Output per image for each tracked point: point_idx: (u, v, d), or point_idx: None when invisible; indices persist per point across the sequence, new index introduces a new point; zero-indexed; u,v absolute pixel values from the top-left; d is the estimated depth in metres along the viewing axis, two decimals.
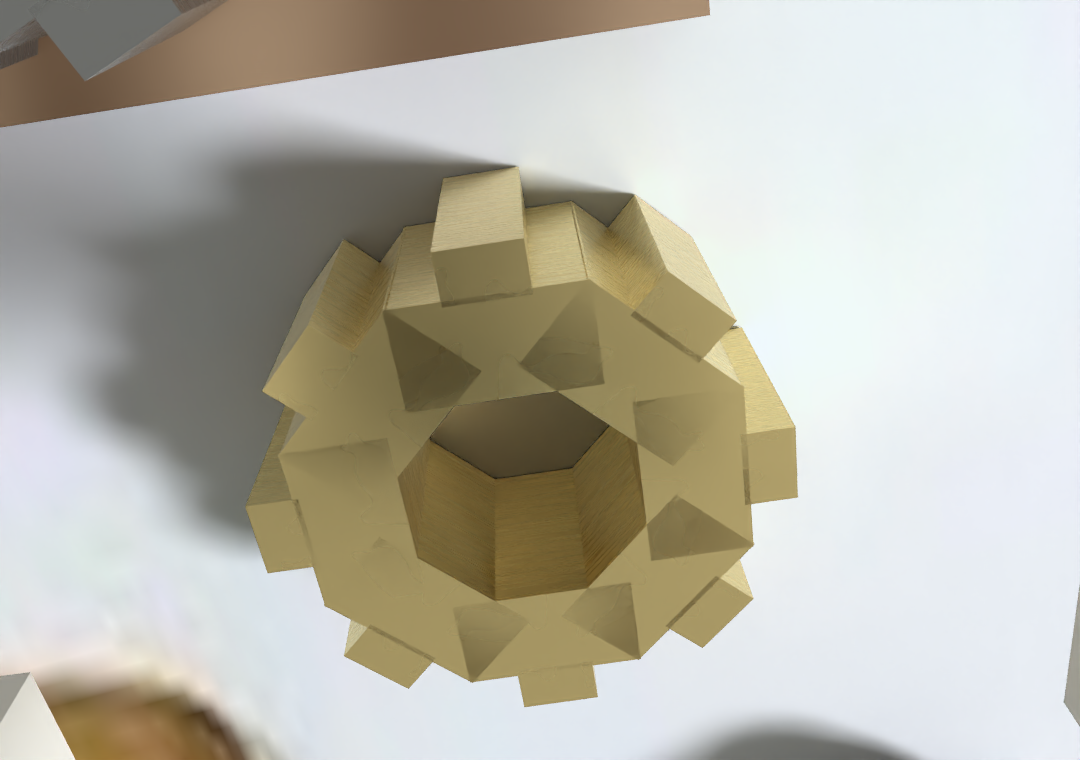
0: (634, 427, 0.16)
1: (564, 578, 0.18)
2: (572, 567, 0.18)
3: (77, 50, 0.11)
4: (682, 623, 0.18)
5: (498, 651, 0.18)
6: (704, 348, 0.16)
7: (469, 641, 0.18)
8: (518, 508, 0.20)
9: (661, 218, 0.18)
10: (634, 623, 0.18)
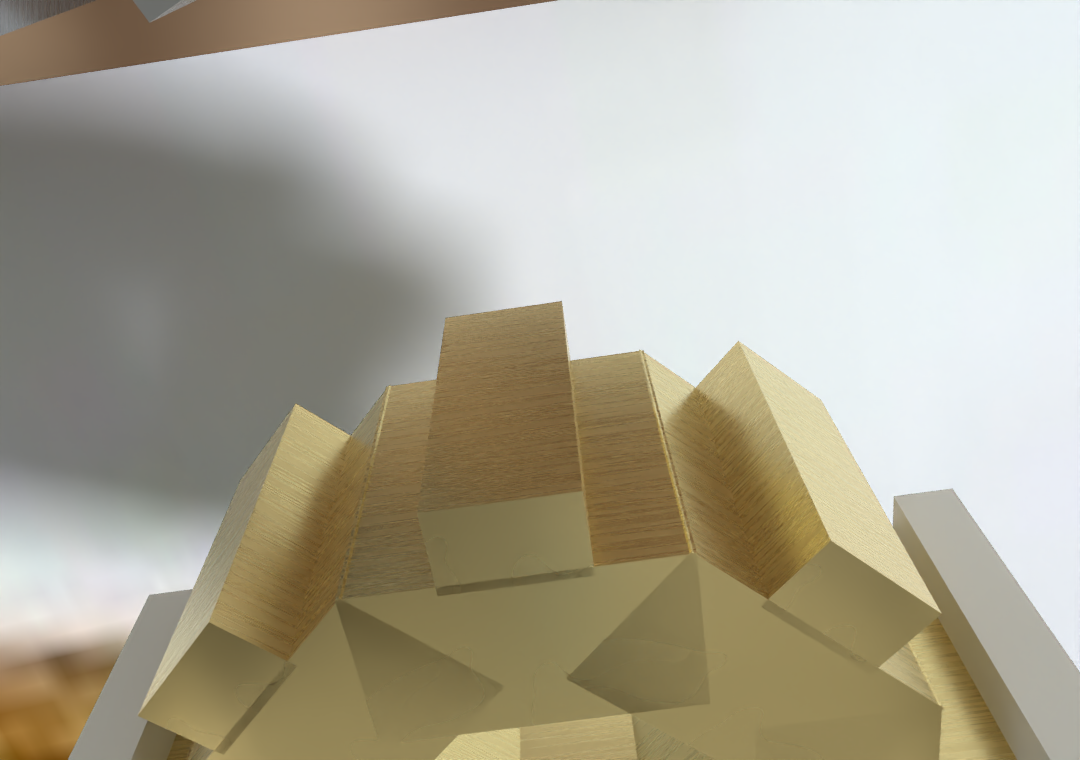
0: None
1: None
2: None
3: None
4: None
5: None
6: (882, 654, 0.09)
7: None
8: None
9: (780, 380, 0.12)
10: None
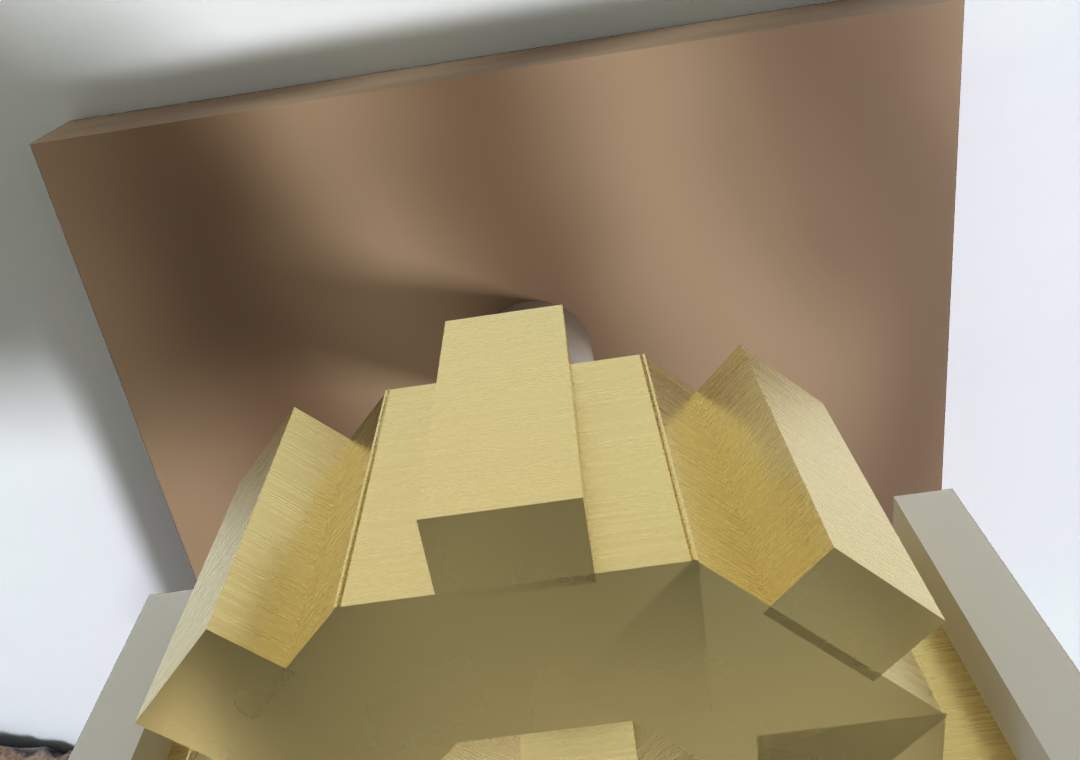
0: None
1: None
2: None
3: None
4: None
5: None
6: (886, 661, 0.09)
7: None
8: None
9: (782, 384, 0.12)
10: None
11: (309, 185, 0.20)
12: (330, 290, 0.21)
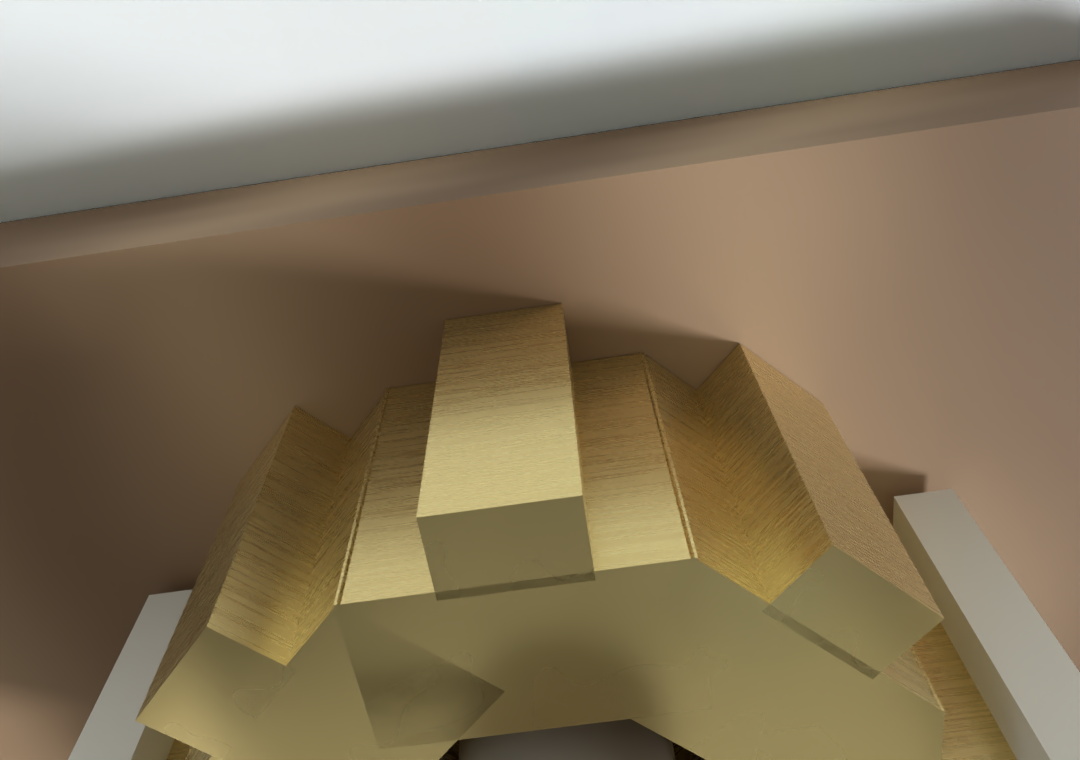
0: None
1: None
2: None
3: None
4: None
5: None
6: (885, 659, 0.09)
7: None
8: None
9: (782, 383, 0.12)
10: None
11: (191, 370, 0.12)
12: None
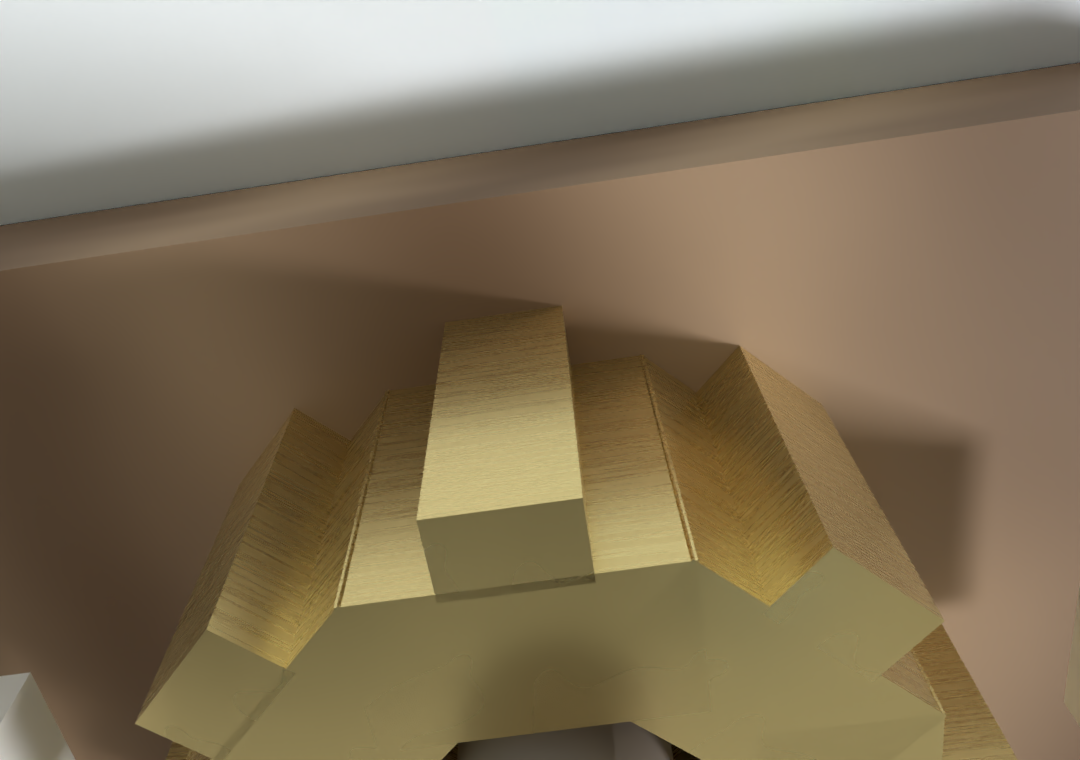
0: None
1: None
2: None
3: None
4: None
5: None
6: (885, 662, 0.09)
7: None
8: None
9: (781, 385, 0.12)
10: None
11: (190, 373, 0.12)
12: None
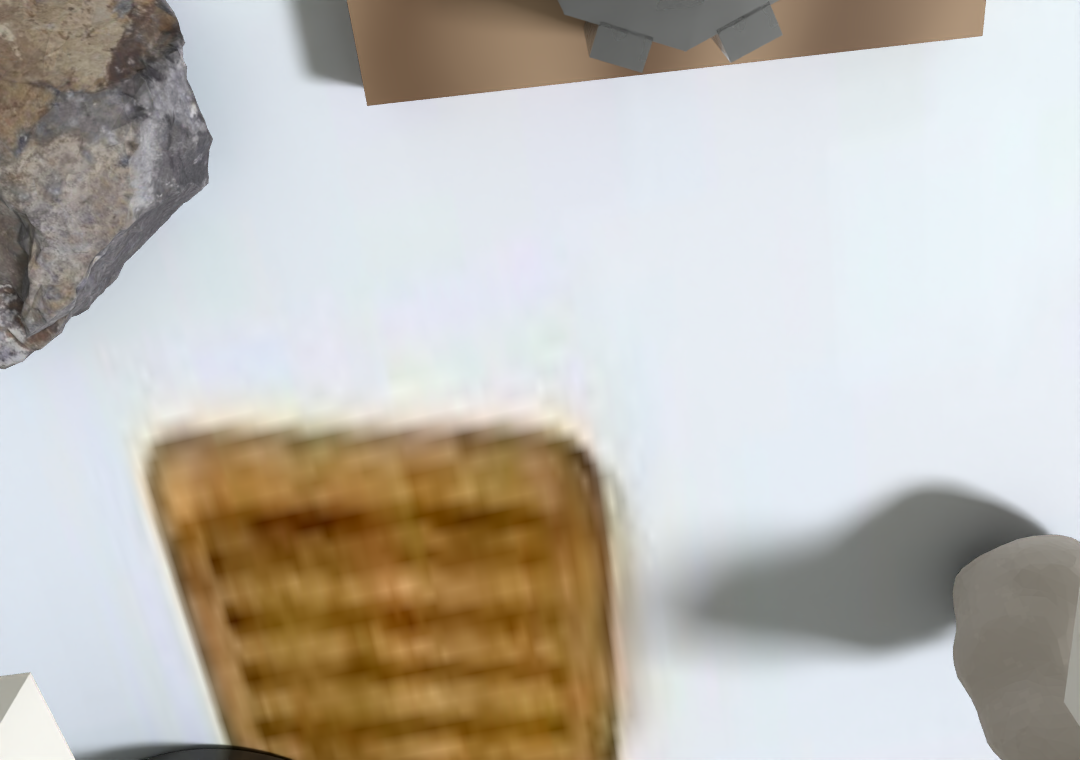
0: None
1: None
2: None
3: (732, 49, 0.25)
4: None
5: None
6: None
7: None
8: None
9: None
10: None
11: None
12: None
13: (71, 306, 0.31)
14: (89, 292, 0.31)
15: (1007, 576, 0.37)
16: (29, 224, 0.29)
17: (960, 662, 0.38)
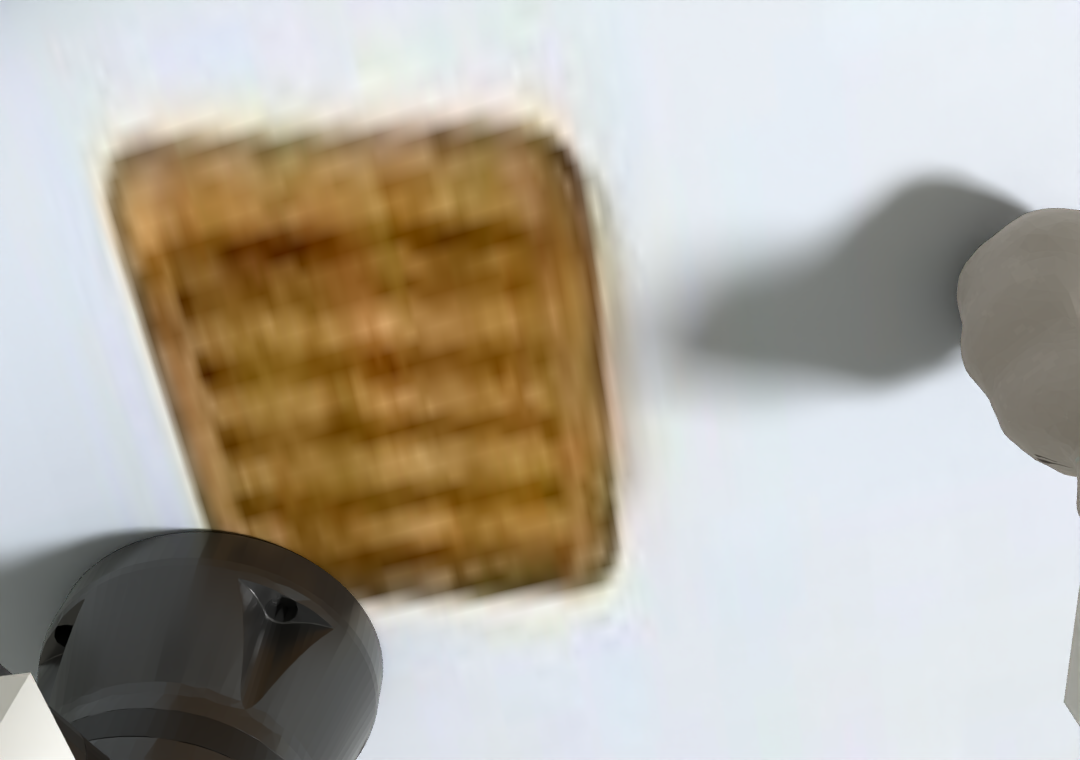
0: None
1: None
2: None
3: None
4: None
5: None
6: None
7: None
8: None
9: None
10: None
11: None
12: None
13: None
14: None
15: (1013, 246, 0.35)
16: None
17: (968, 349, 0.36)
